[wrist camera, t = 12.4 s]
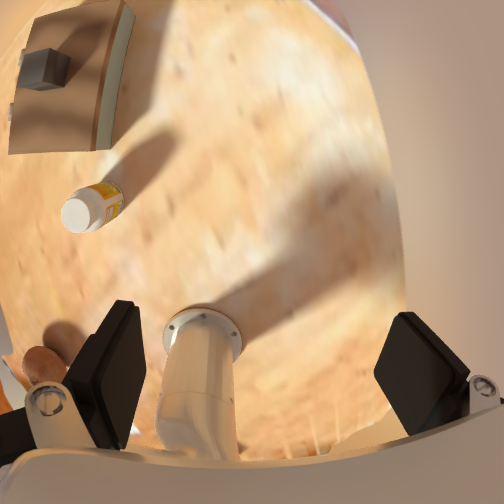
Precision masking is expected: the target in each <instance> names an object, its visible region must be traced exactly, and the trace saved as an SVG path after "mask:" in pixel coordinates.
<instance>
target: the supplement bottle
mask: <svg viewBox="0 0 504 504" xmlns="http://www.w3.org/2000/svg"><path fill="white" fill-rule="evenodd" d="M123 205H124V197H123V194H122V192H121V190H120V188H119V187H117V186H116V185H115V184H113V183H111V182H101V183H98V184H95V185H91V186H88V187H85V188H82V189H79V190H77V191H76V192H75V193H74V194H73V195H72V196H71V198H70V199H69V200H67V201H66V202H65V203H64V205H63V207H62V211H61V218H62V222H63V224H64V226H65V227H66V228H67V229H68V230H69V231H70V232H72V233H82V232H86V233H89V232H94V231H96V230H98V229H99V228H101V227H102V226H104V225H105V224H107V223H108V222H110V221H111V220H113V219H114V218H116V217H117V216H118V215H119V214H120V212H121V211H122V209H123Z"/></svg>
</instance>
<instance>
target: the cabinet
mask: <svg viewBox="0 0 504 504" xmlns="http://www.w3.org/2000/svg"><path fill="white" fill-rule="evenodd" d="M134 20H135V15H134V14H133V13H132V11H131V10H130V9H129V7H128V6H127V5H126V3H125V5H124V8H123V11H122V14H121V18H120V21H119V24H118V28H117V31H116V35H115V39H114V43H113V46H112V51H111V55H110V59H109V64H108V68H107V73H106V78H105V83H104V89H103V95H102V101H101V108H100V115H99V122H98V131H97V140H96V150H108V149H111V139H112V130H113V122H114V115H115V108H116V101H117V95H118V90H119V84H120V79H121V74H122V69H123V64H124V59H125V55H126V51H127V47H128V42H129V39H130V35H131V31H132V27H133V24H134Z"/></svg>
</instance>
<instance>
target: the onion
mask: <svg viewBox="0 0 504 504" xmlns="http://www.w3.org/2000/svg"><path fill="white" fill-rule="evenodd" d="M22 367H23V372H24V374H25V376H26V378H27V380H28V381H29V383H30V384H31V386H32V387H34V386H35V385H37V384H40V383H42V382H56V383H59V384H61V382H62V381H63V379H64V377H65V375H66V374H67V371H66V366H65V363H64V362H63V361H62V359H61V358H60V357H59V356H58V355H57V354H56V353H55V352H54V351H53V350H51V349H49V348H47V347H42V346H35V347H32V348H31V349H29V350H28V351H27V352H26V354H25V356H24V358H23V362H22Z"/></svg>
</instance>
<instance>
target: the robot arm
mask: <svg viewBox="0 0 504 504" xmlns="http://www.w3.org/2000/svg"><path fill="white" fill-rule="evenodd" d="M163 346H164V349H165V351H166V353H167V355H168V358H167V362H166V366H165V370H164V375H163V379H162V383H161V388H160V392H159V397H158V402H157V406H156V411H155V417H154V422H155V428H156V432H157V435H158V437H159V439H160V441H161V443H162V445H163V446H164V448H165V450H162V449H161V450H160V449H155V448H151V447H147V446H142V445H139V444H135V443H131V442H128V438H129V434H130V430H131V426H132V422H133V419H134V415H135V411H136V408H137V404H138V400H139V397H140V393H141V390H142V386H143V383H144V380H145V376H146V362H145V355H144V347H143V339H142V330H141V320H140V310H139V307H138V306H134V303H133V302H132V301H124V300H116V302H115V303H114V305H113V306H112V308H111V309H110V311H109V312H108V314H107V315H106V317H105V318H104V320H103V322H102V323H101V325H100V326H99V328H98V330H97V331H96V333H95V334H91V335H90V336H89V337H88V339H87V340H86V342H85V344H84V345H83V347H82V348H81V350H80V352H79V353H78V355H77V357H76V358H75V360H74V362H73V363H72V365H71V367H70V368H69V370H68V372H67V374H66V375H65V377H64V379H63V381H62V382H61V384H59V383H56V382H42V383H40V384H37V385H35V386H34V387H32V388H31V389H30V390H29V391H28V393H27V394H26V397H25V407H23V408H21V409H17V410H14V411H11V412H8V413H5V414H2V415H0V504H504V399H503V398H501V397H500V394H499V389H498V387H497V385H496V384H495V382H493V381H492V380H491V379H490V378H488V377H486V376H483V375H474V376H472V377H471V379H470V380H469V382H467V381H466V379H467V377H468V375H469V373H470V370H469V369H468V368H467V366H465V364H464V363H463V362H462V361H461V360H460V359H459V358H458V357H457V356H456V355H455V354H454V353H453V351H452V350H451V349H450V348H449V347H448V346H447V345H446V344H445V343H444V342H443V341H442V340H441V339H440V338H439V337H438V336H437V335H436V334H435V333H434V332H433V331H432V330H431V329H430V328H429V327H428V326H427V325H426V324H425V323H424V322H423V321H422V320H421V319H420V318H419V317H418V316H417V315H416V314H415V313H414V312H400V313H399V314H398V315H397V316H396V317H395V318H394V320H393V322H392V325H391V328H390V331H389V333H388V336H387V339H386V341H385V344H384V346H383V349H382V351H381V354H380V356H379V359H378V361H377V363H376V366H375V368H374V377H375V379H376V380H377V382H378V384H379V385H380V387H381V389H382V391H383V392H384V394H385V396H386V397H387V399H388V401H389V402H390V404H391V406H392V408H393V409H394V411H395V413H396V415H397V416H398V418H399V420H400V422H401V423H402V425H403V427H404V429H405V430H406V432H407V434H408V435H409V437H406V438H402V439H398V440H395V441H391V442H387V443H383V444H379V445H375V446H371V447H366V448H361V449H356V450H351V451H346V452H340V453H334V454H327V455H320V456H312V457H303V458H293V459H281V460H263V461H240V457H239V452H238V445H237V436H236V421H235V403H234V381H233V363H234V362H235V361H236V360H237V358H238V357H239V355H240V353H241V349H242V338H241V334H240V331H239V329H238V327H237V326H236V324H235V323H234V322H233V321H232V320H231V319H230V318H228V317H227V316H225V315H224V314H222V313H220V312H217V311H214V310H211V309H204V308H194V309H188V310H185V311H182V312H180V313H178V314H176V315H175V316H174V317H172V318H171V319H170V320H169V322H168V323H167V325H166V327H165V330H164V333H163Z"/></svg>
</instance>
